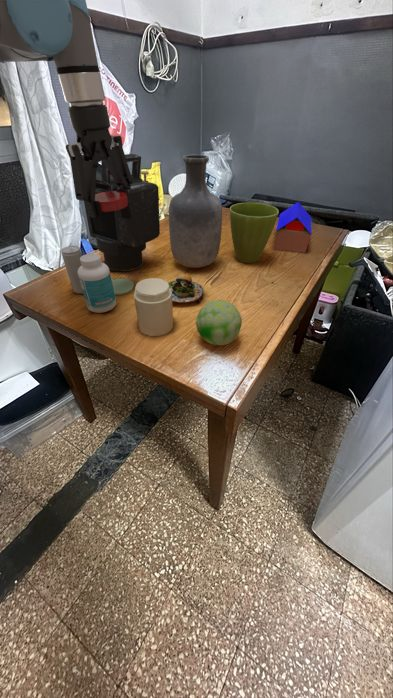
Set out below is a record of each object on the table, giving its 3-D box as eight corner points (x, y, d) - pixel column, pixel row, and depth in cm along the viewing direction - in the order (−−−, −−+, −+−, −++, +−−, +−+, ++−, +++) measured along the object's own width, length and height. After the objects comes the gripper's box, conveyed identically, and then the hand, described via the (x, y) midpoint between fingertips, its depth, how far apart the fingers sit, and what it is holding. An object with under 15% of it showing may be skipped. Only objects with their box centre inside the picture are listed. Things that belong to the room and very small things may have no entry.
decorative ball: (237, 328, 69) (242, 291, 63) (239, 356, 62) (245, 318, 55) (197, 326, 70) (197, 290, 63) (194, 353, 62) (194, 316, 55)
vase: (207, 251, 103) (210, 150, 83) (227, 270, 92) (237, 159, 72) (164, 258, 98) (157, 153, 78) (180, 278, 87) (177, 163, 67)
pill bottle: (122, 302, 77) (113, 254, 68) (104, 317, 72) (92, 266, 63) (100, 296, 79) (88, 248, 70) (81, 309, 74) (66, 260, 65)
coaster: (109, 297, 79) (109, 295, 78) (101, 284, 84) (100, 282, 84) (138, 290, 82) (137, 288, 82) (128, 278, 87) (128, 276, 87)
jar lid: (134, 201, 70) (133, 191, 69) (117, 212, 64) (114, 202, 63) (104, 199, 72) (102, 190, 71) (84, 210, 66) (81, 200, 65)
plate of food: (152, 296, 80) (149, 271, 75) (181, 281, 86) (181, 257, 81) (183, 313, 74) (183, 287, 69) (212, 295, 80) (214, 270, 75)
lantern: (122, 251, 102) (110, 149, 83) (162, 263, 96) (160, 156, 77) (90, 264, 92) (68, 152, 73) (132, 279, 86) (121, 160, 66)
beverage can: (78, 296, 79) (65, 254, 71) (70, 290, 82) (57, 249, 74) (94, 290, 82) (83, 249, 74) (86, 284, 84) (75, 244, 76)
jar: (146, 340, 65) (141, 299, 58) (133, 321, 71) (127, 282, 64) (179, 329, 69) (177, 289, 61) (164, 312, 74) (161, 273, 67)
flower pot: (248, 246, 106) (254, 199, 96) (278, 260, 98) (289, 211, 87) (217, 256, 100) (220, 207, 89) (246, 272, 91) (254, 220, 80)
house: (272, 249, 105) (279, 215, 97) (276, 230, 119) (282, 200, 112) (306, 253, 102) (315, 219, 95) (306, 234, 117) (314, 203, 109)
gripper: (110, 101, 64) (131, 209, 79) (26, 109, 51) (70, 236, 66) (136, 100, 61) (152, 212, 76) (53, 108, 48) (93, 242, 63)
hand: (114, 223), depth 71 cm, fingers closed on jar lid, 9 cm apart
